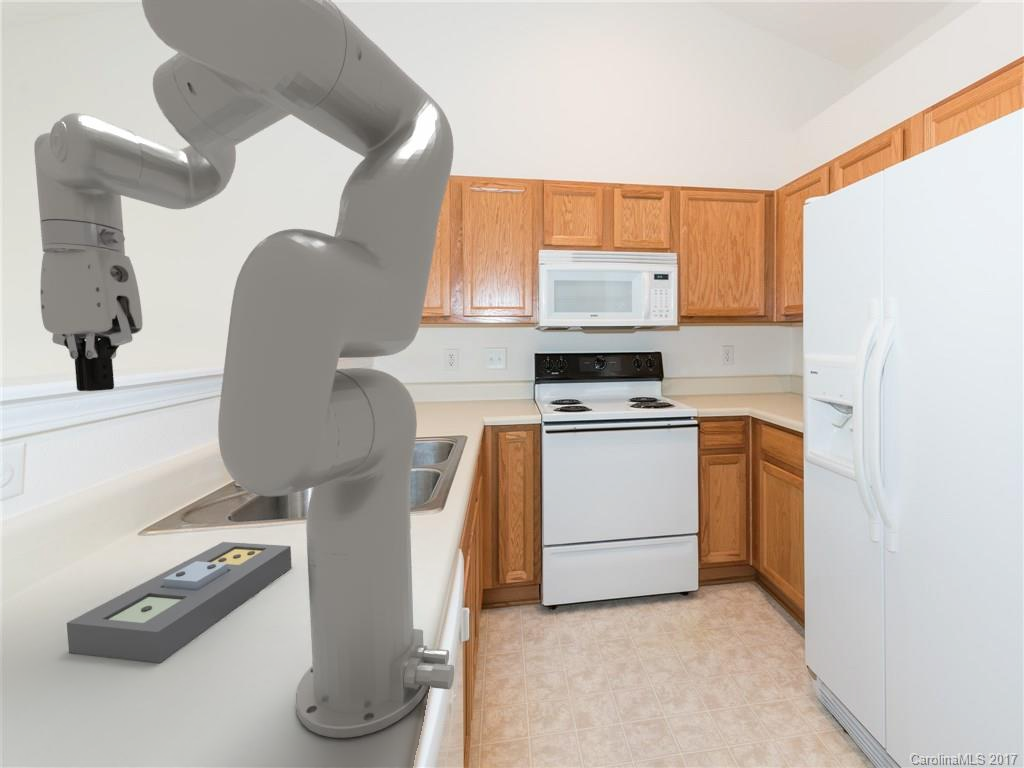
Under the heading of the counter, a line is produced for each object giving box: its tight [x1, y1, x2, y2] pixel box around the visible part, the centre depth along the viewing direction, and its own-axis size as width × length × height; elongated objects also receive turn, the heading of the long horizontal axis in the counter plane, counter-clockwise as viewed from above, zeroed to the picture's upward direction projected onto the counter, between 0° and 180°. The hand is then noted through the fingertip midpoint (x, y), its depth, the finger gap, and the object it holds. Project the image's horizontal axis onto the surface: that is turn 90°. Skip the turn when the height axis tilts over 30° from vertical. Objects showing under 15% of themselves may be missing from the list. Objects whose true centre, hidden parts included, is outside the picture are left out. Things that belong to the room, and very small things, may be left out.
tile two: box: [163, 561, 228, 590], centre depth 60 cm, size 5×5×2 cm
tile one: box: [108, 597, 181, 623], centre depth 53 cm, size 5×5×2 cm
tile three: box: [213, 549, 261, 565], centre depth 67 cm, size 5×5×2 cm
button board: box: [66, 541, 293, 664], centre depth 60 cm, size 12×22×4 cm, turn 170°
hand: (96, 389), depth 57 cm, fingers closed
